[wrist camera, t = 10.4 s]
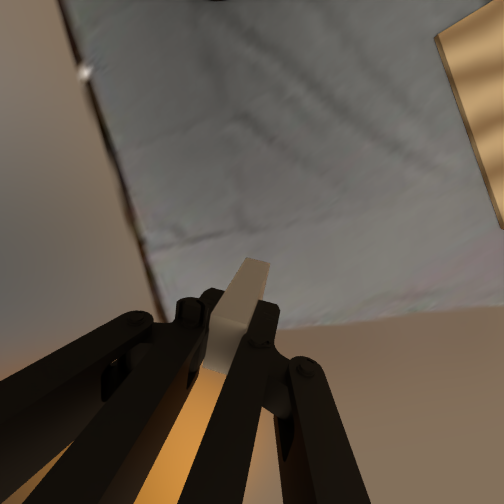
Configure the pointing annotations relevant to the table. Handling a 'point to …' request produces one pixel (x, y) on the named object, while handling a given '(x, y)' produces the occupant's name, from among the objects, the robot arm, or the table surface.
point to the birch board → (480, 89)
